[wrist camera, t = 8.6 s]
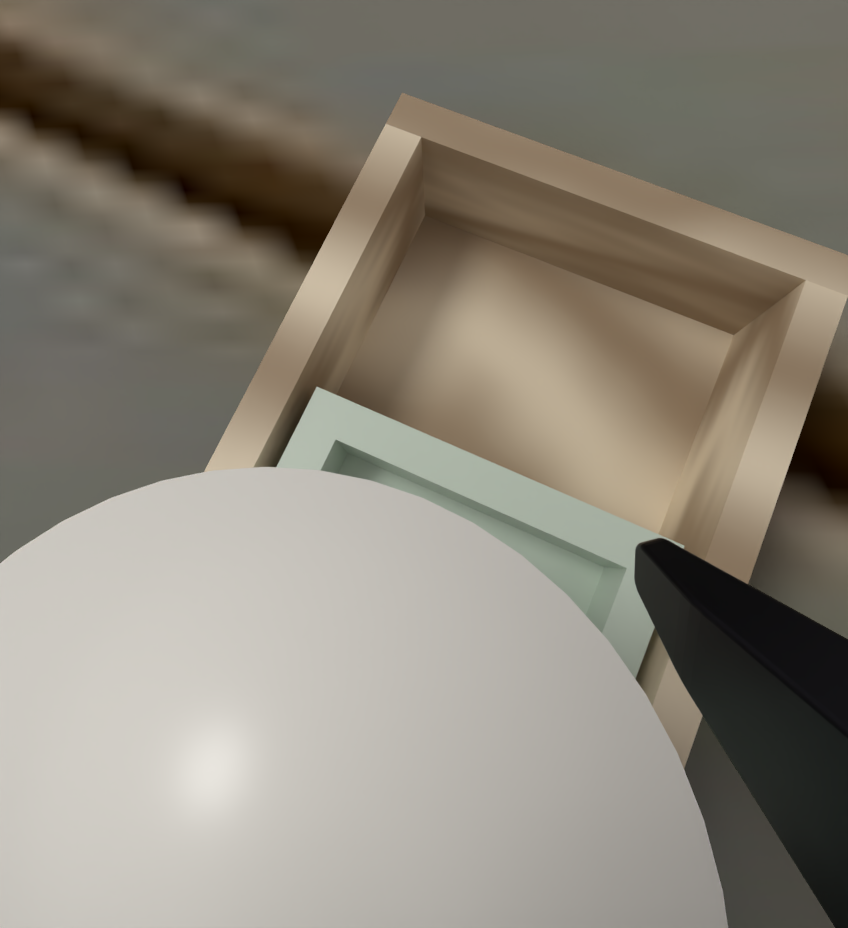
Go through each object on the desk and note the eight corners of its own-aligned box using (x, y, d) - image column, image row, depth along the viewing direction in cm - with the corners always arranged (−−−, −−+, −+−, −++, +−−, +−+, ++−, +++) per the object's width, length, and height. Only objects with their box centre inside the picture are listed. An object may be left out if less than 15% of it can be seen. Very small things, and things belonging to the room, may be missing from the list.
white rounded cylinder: (373, 791, 15) (-43, 1882, 3) (281, 604, 17) (-318, 731, 4) (551, 684, 16) (966, 1215, 3) (448, 507, 17) (417, 323, 4)
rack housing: (579, 827, 17) (630, 925, 12) (189, 633, 18) (107, 657, 14) (764, 328, 20) (860, 259, 15) (410, 192, 21) (401, 92, 17)
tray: (442, 1160, 15) (443, 1451, 10) (51, 933, 16) (-116, 1094, 12) (666, 560, 18) (751, 561, 13) (314, 406, 19) (270, 354, 14)
